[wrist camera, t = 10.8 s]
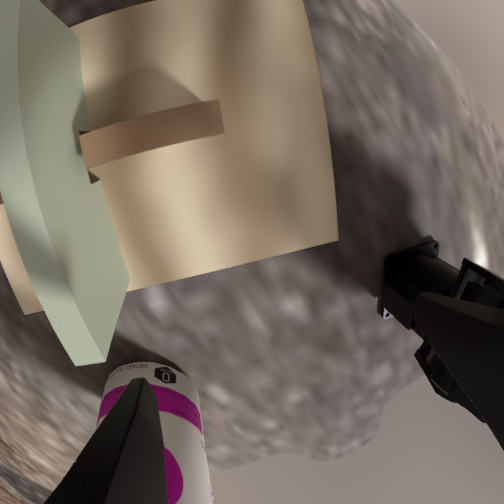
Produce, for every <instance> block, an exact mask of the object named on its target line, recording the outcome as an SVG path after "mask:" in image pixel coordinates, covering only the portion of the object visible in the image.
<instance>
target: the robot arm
mask: <svg viewBox="0 0 504 504" xmlns="http://www.w3.org/2000/svg"><path fill="white" fill-rule="evenodd" d="M438 251H439V242H437V241H435V240H432V241H429V242H426V243H423V244H420V245H417V246H414V247H411V248H408V249H404V250H401V251H398V252H395V253H392V254H389V255H387V256H386V258H385V264H384V282H383V296H382V310H381V316H382V318H384V319H385V320H386V319H389V318H392V317H395V318H396V319H397V320H398V321H399V322H400V323H401V324H402V325H403V326H404V327H405V328H407V329H408V330H410V329H412V330H413V331H414V332H416V333H417V334H418V335H419V336H420V337H421V338H422V339H423V340H424V341H423V343H422V345H421V346H420V348H419V349H417V351H416V353H415V354H414V356H415V357H416V359H417V361H418V363H419V364H420V366H421V368H422V370H423V371H424V373H425V375H426V376H427V378H428V380H429V382H430V383H431V385H432V387H433V389H434V390H435V392H436V393H437V394H439V395H440V396H441V397H443V398H445V399H447V400H449V401H451V402H454V403H458V404H460V405H461V406H463V407H465V408H466V409H467V410H468V411H470V412H471V413H472V414H473V415H474V416H475V417H477V418H478V419H479V420H480V421H481V422H483V423H487V425H488V426H489V428H490V429H491V431H492V432H493V434H494V436H495V437H496V439H497V441H498V442H499V444H500V445H501V447H502V449H503V450H504V279H503V278H501V277H500V276H498V275H496V274H495V273H493V272H491V271H489V270H488V269H486V268H484V267H482V266H480V265H478V264H476V263H474V262H472V261H470V260H468V259H466V258H464V259H463V261H462V267H461V269H460V270H458V269H456V268H455V267H453V266H451V265H450V264H448V263H446V262H444V261H443V260H441V259H439V258H438ZM390 260H391V261H390ZM43 504H168V496H167V485H166V471H165V453H164V441H163V434H162V428H161V422H160V415H159V407H158V400H157V397H156V394H155V393H154V391H153V389H152V387H151V386H150V384H149V382H148V380H147V379H146V378H145V377H139V378H134V379H132V380H131V381H130V382H129V384H128V385H127V386H126V388H125V389H124V391H123V392H122V393H121V395H120V396H119V398H118V399H117V401H116V402H115V403H114V405H113V406H112V408H111V409H110V411H109V412H108V414H107V415H106V416H105V418H104V419H103V421H102V422H101V424H100V425H99V427H98V428H97V430H96V431H95V432H94V434H93V435H92V437H91V438H90V440H89V441H88V443H87V444H86V446H85V447H84V449H83V450H82V452H81V453H80V455H79V456H78V458H77V459H76V462H74V463H73V465H72V466H71V468H70V469H69V471H68V472H67V474H66V475H65V477H64V478H63V479H62V481H61V482H60V484H59V485H58V486H57V487H56V489H55V490H54V491H53V492H52V494H51V495H50V496H49V497H48V499H47V500H46V501H45V502H44V503H43Z"/></svg>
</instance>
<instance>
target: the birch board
mask: <svg viewBox="0 0 504 504" xmlns="http://www.w3.org/2000/svg"><path fill="white" fill-rule="evenodd" d="M69 29H70V30H71V31H72V32H73V33H75V34H76V35H77V36H78V37H79V43H80V57H81V68H82V77H83V86H84V93H85V101H86V107H87V114H88V120H89V126H90V131H94V130H97V129H100V128H103V127H106V126H109V125H112V124H115V123H118V122H122V121H125V120H128V119H132V118H135V117H139V116H143V115H146V114H150V113H154V112H158V111H162V110H166V109H170V108H175V107H179V106H184V105H189V104H194V103H199V102H204V101H209V100H215V99H219V101H220V107H221V113H222V118H223V124H224V129H225V133H223V134H219V135H216V136H211V137H206V138H201V139H196V140H191V141H187V142H183V143H178V144H174V145H170V146H166V147H162V148H158V149H154V150H150V151H146V152H143V153H139V154H135V155H132V156H128V157H125V158H122V159H118V160H115V161H112V162H109V163H105V164H102V165H99V166H96V167H93V168H90V169H87V171H88V175H89V179H90V183H93V182H96V181H99V180H101V182H102V186H103V190H104V194H105V198H106V202H107V205H108V209H109V213H110V216H111V219H112V223H113V226H114V230H115V233H116V236H117V239H118V242H119V246H120V249H121V252H122V255H123V258H124V261H125V264H126V266H127V269H128V272H129V275H130V278H131V279H130V282H129V285H128V288H127V291H126V292H128V291H132V290H136V289H140V288H145V287H149V286H153V285H157V284H162V283H166V282H170V281H174V280H179V279H183V278H187V277H191V276H195V275H200V274H204V273H208V272H212V271H216V270H220V269H224V268H229V267H233V266H237V265H241V264H245V263H249V262H253V261H257V260H261V259H265V258H269V257H274V256H278V255H282V254H286V253H290V252H294V251H298V250H302V249H306V248H310V247H314V246H318V245H322V244H326V243H330V242H334V241H338V240H339V239H338V222H337V208H336V196H335V185H334V175H333V165H332V156H331V148H330V140H329V132H328V125H327V118H326V112H325V105H324V99H323V93H322V87H321V82H320V76H319V71H318V65H317V60H316V55H315V51H314V46H313V41H312V37H311V32H310V28H309V24H308V20H307V16H306V12H305V8H304V4H303V0H155V1H150V2H146V3H142V4H138V5H134V6H130V7H127V8H123V9H120V10H117V11H113V12H110V13H107V14H104V15H101V16H98V17H95V18H92V19H90V20H87V21H84V22H82V23H79V24H77V25H74V26H72V27H69ZM0 261H1V263H2V266H3V269H4V271H5V273H6V276H7V278H8V281H9V283H10V285H11V287H12V290H13V292H14V294H15V296H16V298H17V300H18V302H19V305H20V307H21V309H22V311H23V313H24V315H27V314H31V313H36V312H40V311H44V309H43V307H42V305H41V303H40V301H39V299H38V297H37V295H36V292H35V290H34V288H33V286H32V283H31V281H30V279H29V276H28V274H27V272H26V269H25V267H24V264H23V262H22V259H21V256H20V254H19V251H18V248H17V245H16V243H15V240H14V237H13V234H12V231H11V227H10V224H9V221H8V218H7V214H6V211H5V207H4V204H1V205H0Z"/></svg>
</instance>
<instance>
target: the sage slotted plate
mask: <svg viewBox="0 0 504 504" xmlns="http://www.w3.org/2000/svg"><path fill="white" fill-rule="evenodd" d="M88 132H91V131H90V126H89V120H88V114H87V107H86V101H85V93H84V86H83V77H82V68H81V57H80V43H79V37H78V36H77V35H76V34H75V33H73V32H72V31H71V30H70V29H69V28H68V27H67V26H66V25H65V24H64V23H63V22H62V21H61V20H60V19H59V18H57V17H56V16H55V15H54V14H53V13H52V12H51V11H50V10H49V9H48V8H47V7H45V6H44V5H43V4H42V3H41V2H40V1H39V0H0V192H1V196H2V200H3V204H4V207H5V211H6V214H7V218H8V221H9V224H10V227H11V231H12V234H13V237H14V240H15V243H16V245H17V248H18V251H19V254H20V256H21V259H22V262H23V264H24V267H25V269H26V272H27V274H28V276H29V279H30V281H31V283H32V286H33V288H34V290H35V292H36V295H37V297H38V299H39V301H40V303H41V305H42V307H43V309H44V311H45V313H46V315H47V317H48V319H49V321H50V323H51V325H52V327H53V329H54V330H55V332H56V334H57V336H58V338H59V340H60V341H61V343H62V345H63V346H64V348H65V350H66V352H67V353H68V355H69V357H70V358H71V360H72V361H73V363H74V365H75V366H81V365H88V364H95V363H102V362H106V359H107V355H108V352H109V348H110V344H111V341H112V337H113V333H114V330H115V326H116V323H117V320H118V316H119V313H120V310H121V307H122V304H123V300H124V297H125V294H126V291H127V288H128V285H129V282H130V279H131V278H130V275H129V272H128V269H127V266H126V264H125V261H124V258H123V255H122V252H121V249H120V246H119V242H118V239H117V236H116V233H115V230H114V226H113V223H112V219H111V216H110V213H109V209H108V205H107V202H106V198H105V194H104V190H103V186H102V182H101V180H99V181H96V182H93V183H90V179H89V175H88V171H87V169H86V167H85V163H84V158H83V153H82V148H81V143H80V138H79V136H80V135H83V134H86V133H88Z"/></svg>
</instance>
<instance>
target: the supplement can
mask: <svg viewBox="0 0 504 504" xmlns="http://www.w3.org/2000/svg"><path fill="white" fill-rule="evenodd" d="M139 377H145V378H146V379H147V380H148V382H149V384H150V386H151V387H152V389H153V391H154V393H155V394H156V397H157V400H158V407H159V415H160V422H161V428H162V434H163V441H164V453H165V471H166V485H167V496H168V504H214V501H213V495H212V489H211V484H210V478H209V471H208V465H207V458H206V451H205V444H204V437H203V429H202V421H201V413H200V404H199V395H198V392H197V390H196V387H195V385H194V383H193V382H192V381H191V380H190V379H189V378H187V377H186V376H185V375H184V374H183V373H181V372H179V371H177V370H175V369H173V368H171V367H169V366H167V365H163V364H158V363H154V362H133V363H130V364H127V365H123V366H120V367H118V368H117V369H115V370H114V371H113V372H112V373H110V374H109V376H108V379H107V381H106V384H105V387H104V392H103V396H102V401H101V406H100V411H99V416H98V421H97V427H96V430H97V428H98V427H99V425H100V424H101V422H102V421H103V419H104V418H105V416H106V415H107V414H108V412H109V411H110V409H111V408H112V406H113V405H114V403H115V402H116V401H117V399H118V398H119V396H120V395H121V393H122V392H123V391H124V389H125V388H126V386H127V385H128V384H129V382H130V381H131V380H132V379H134V378H139Z"/></svg>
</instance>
